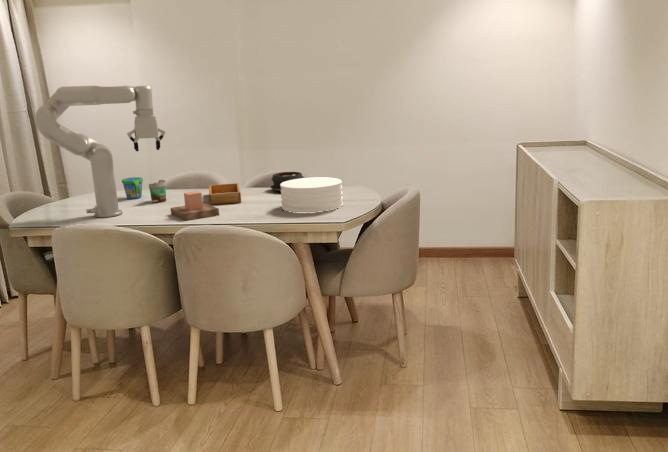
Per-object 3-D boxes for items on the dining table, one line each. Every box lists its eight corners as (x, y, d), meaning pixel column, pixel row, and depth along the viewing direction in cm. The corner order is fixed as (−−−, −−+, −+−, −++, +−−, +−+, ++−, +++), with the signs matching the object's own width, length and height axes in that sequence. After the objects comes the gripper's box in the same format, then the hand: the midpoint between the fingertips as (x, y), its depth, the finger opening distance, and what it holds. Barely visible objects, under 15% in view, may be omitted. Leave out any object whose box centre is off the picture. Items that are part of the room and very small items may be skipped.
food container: (162, 203, 343) (159, 183, 340) (150, 204, 344) (148, 184, 342) (172, 198, 354) (170, 179, 352) (161, 199, 356) (159, 179, 353)
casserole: (302, 193, 352) (301, 177, 350) (266, 194, 353) (265, 178, 351) (308, 184, 376) (307, 169, 374) (274, 186, 378) (273, 170, 376)
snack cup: (148, 198, 358) (145, 179, 356) (127, 201, 354) (125, 181, 351) (141, 194, 372) (138, 175, 369) (121, 197, 367) (118, 178, 365)
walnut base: (184, 220, 302) (184, 214, 301) (171, 214, 317) (170, 207, 316) (219, 215, 310) (218, 208, 309) (204, 209, 325) (203, 202, 324)
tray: (210, 195, 362) (209, 184, 361) (239, 192, 365) (238, 182, 363) (209, 206, 333) (208, 194, 331) (241, 203, 335) (240, 192, 334)
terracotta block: (190, 210, 308) (188, 194, 307) (185, 208, 313) (183, 193, 312) (202, 208, 311) (201, 192, 310) (197, 206, 316) (196, 191, 315)
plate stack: (270, 212, 311) (268, 187, 308) (299, 200, 336) (298, 176, 333) (326, 215, 299) (325, 189, 297) (352, 202, 324) (351, 178, 321)
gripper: (127, 114, 311) (130, 152, 315) (165, 112, 319) (168, 149, 323) (123, 113, 318) (126, 151, 322) (161, 112, 326) (163, 148, 330)
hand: (147, 150), depth 322 cm, fingers open, 9 cm apart
